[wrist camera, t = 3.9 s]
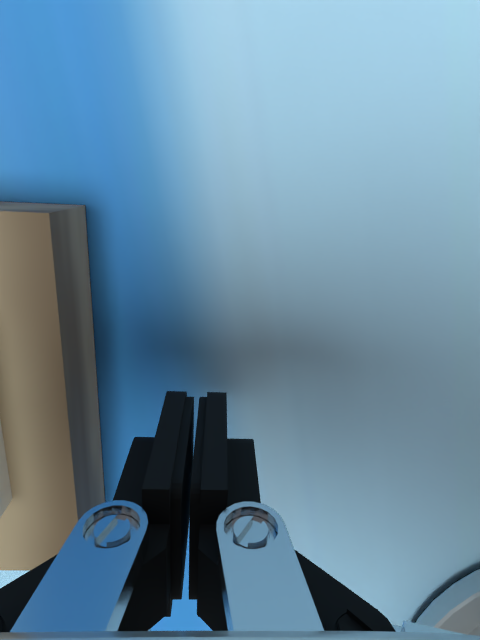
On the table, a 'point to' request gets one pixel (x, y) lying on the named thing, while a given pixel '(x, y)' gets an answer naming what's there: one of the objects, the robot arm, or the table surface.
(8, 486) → the tile
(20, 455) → the block
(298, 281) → the table surface
